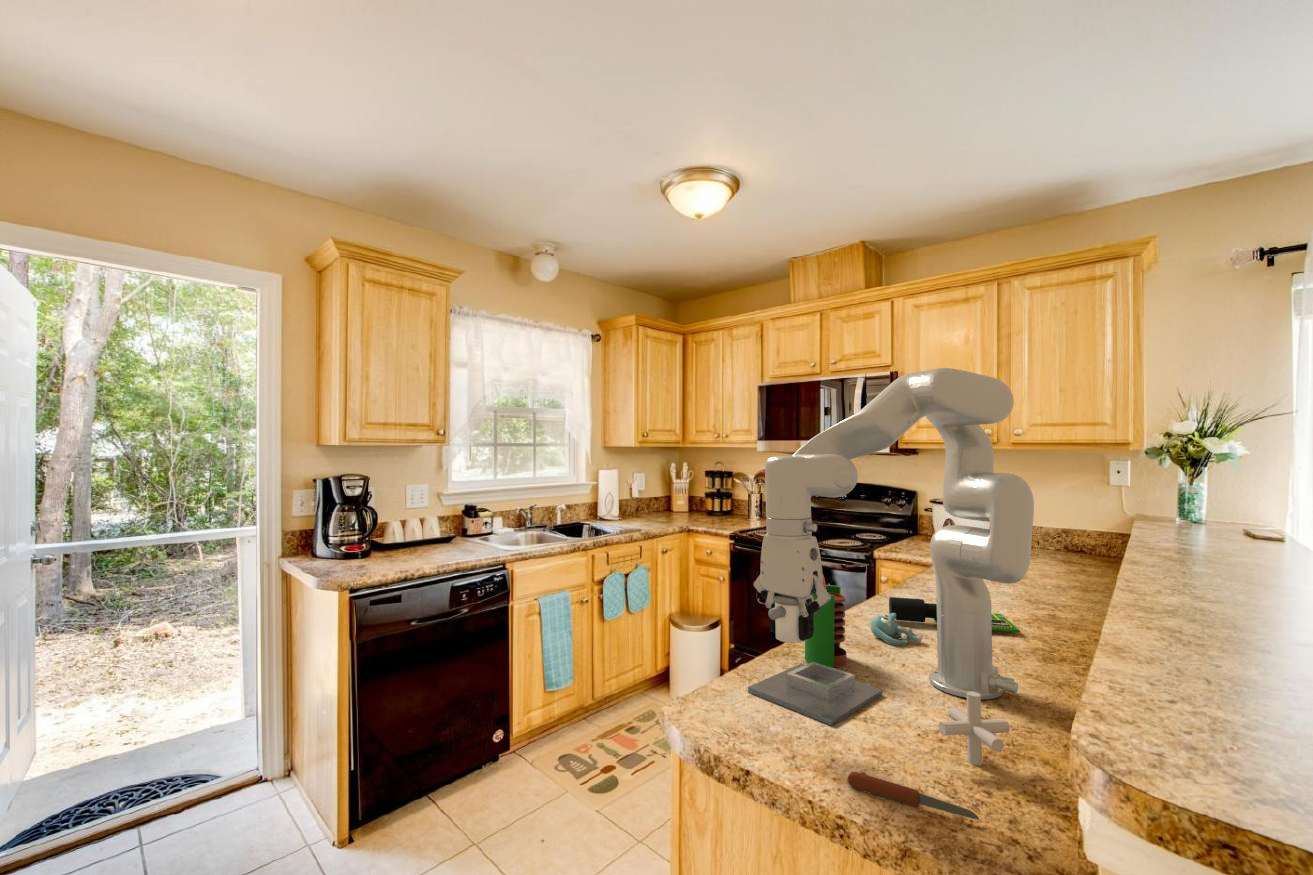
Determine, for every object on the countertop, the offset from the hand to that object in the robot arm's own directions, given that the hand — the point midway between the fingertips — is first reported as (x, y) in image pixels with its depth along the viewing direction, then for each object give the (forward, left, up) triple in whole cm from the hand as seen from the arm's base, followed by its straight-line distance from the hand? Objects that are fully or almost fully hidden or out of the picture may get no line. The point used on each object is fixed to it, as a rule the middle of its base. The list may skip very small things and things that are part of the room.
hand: (791, 633), depth 94 cm
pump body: (0, +1, -1) cm, 1 cm away
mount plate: (+4, -14, -15) cm, 21 cm away
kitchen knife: (-23, +7, -16) cm, 28 cm away
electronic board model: (+5, -80, -16) cm, 82 cm away
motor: (+12, -31, -16) cm, 36 cm away
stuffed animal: (+8, -56, -16) cm, 58 cm away
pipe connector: (-25, -11, -16) cm, 31 cm away
